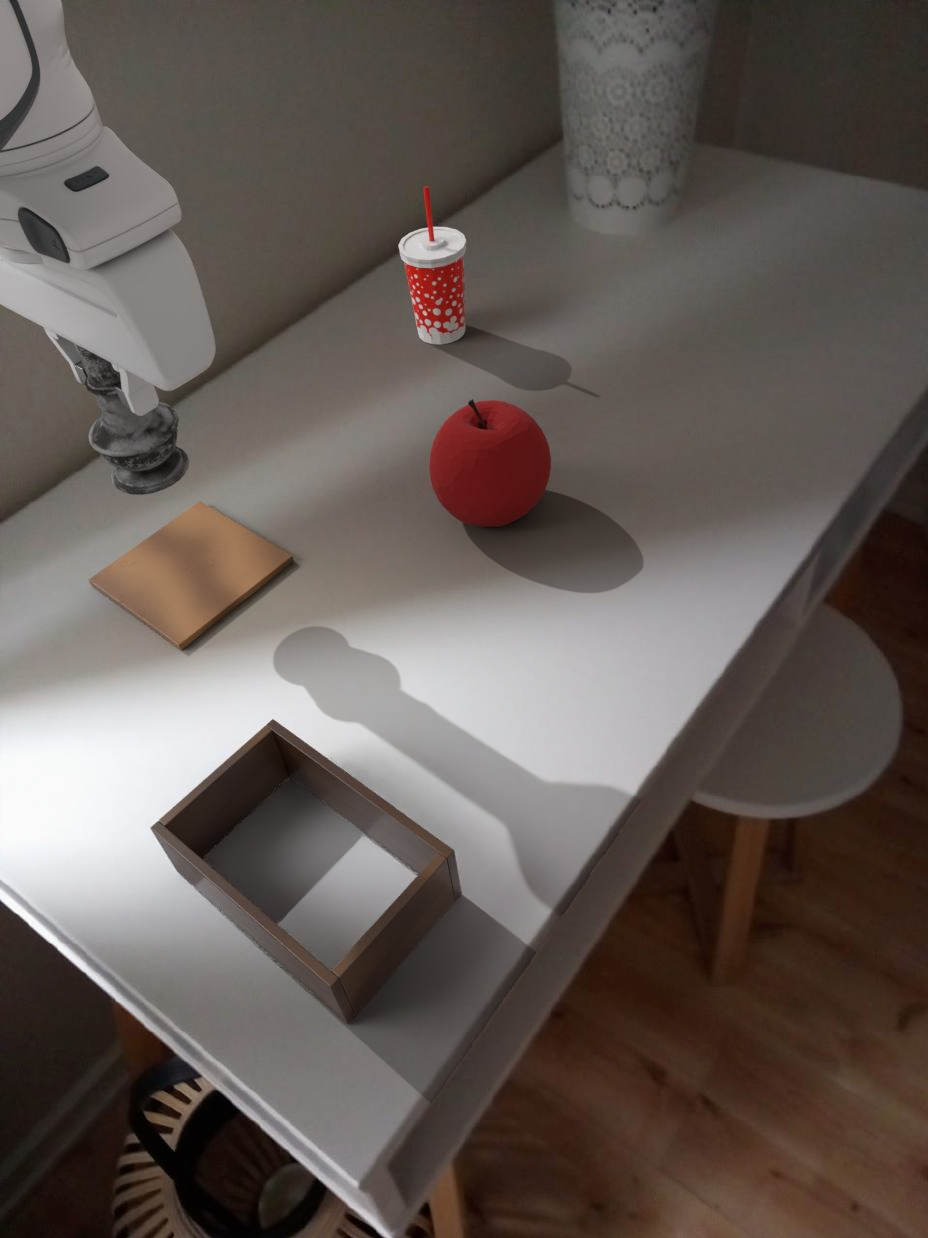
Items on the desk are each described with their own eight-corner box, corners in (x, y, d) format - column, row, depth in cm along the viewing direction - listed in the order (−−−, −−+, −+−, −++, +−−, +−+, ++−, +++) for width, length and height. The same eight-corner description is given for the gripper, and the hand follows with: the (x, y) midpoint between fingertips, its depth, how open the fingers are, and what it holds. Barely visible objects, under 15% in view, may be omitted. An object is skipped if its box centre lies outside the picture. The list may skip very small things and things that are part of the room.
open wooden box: (347, 1025, 50) (330, 987, 46) (176, 871, 57) (149, 827, 53) (462, 894, 55) (454, 850, 51) (290, 765, 61) (272, 718, 58)
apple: (494, 564, 72) (486, 457, 64) (410, 513, 76) (393, 407, 69) (574, 500, 76) (575, 392, 69) (490, 455, 80) (482, 349, 73)
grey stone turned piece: (208, 447, 67) (153, 288, 59) (169, 502, 64) (104, 341, 55) (133, 438, 69) (69, 281, 60) (91, 492, 65) (16, 333, 56)
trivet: (181, 650, 69) (178, 645, 68) (90, 585, 74) (87, 579, 73) (294, 561, 74) (292, 555, 73) (202, 506, 79) (200, 500, 79)
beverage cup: (472, 347, 91) (460, 200, 81) (408, 350, 92) (388, 205, 82) (473, 312, 96) (462, 168, 85) (412, 316, 96) (393, 173, 86)
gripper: (-118, 157, 55) (-11, 367, 65) (92, 249, 45) (179, 479, 55) (-20, 117, 58) (68, 324, 68) (197, 196, 48) (261, 424, 58)
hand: (119, 395), depth 62 cm, fingers closed on grey stone turned piece, 3 cm apart
